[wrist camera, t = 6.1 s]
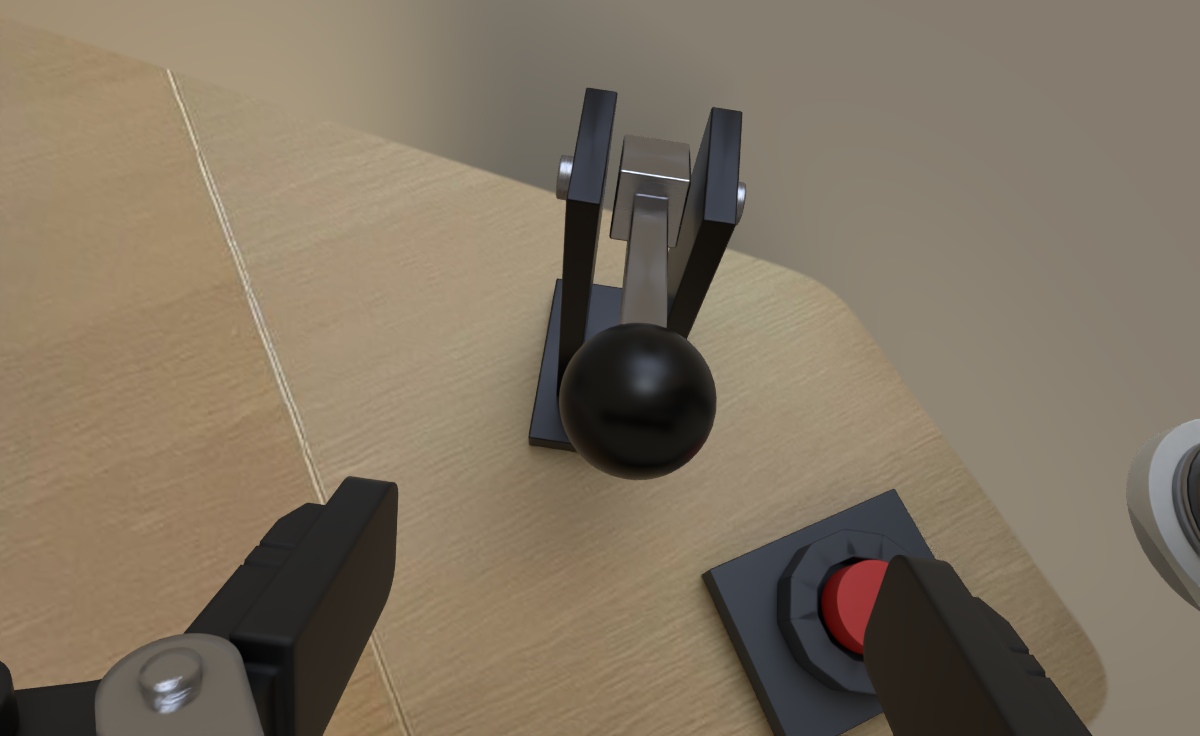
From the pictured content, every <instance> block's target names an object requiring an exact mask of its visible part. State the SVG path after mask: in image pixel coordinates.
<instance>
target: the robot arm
mask: <svg viewBox="0 0 1200 736" xmlns="http://www.w3.org/2000/svg"><path fill="white" fill-rule="evenodd" d="M1172 495H1173V503H1174V508H1175V512H1176V515H1177V518H1178V521H1179V524H1180V526H1181V528H1182V530H1183V532H1184V534H1185V536H1186V538H1187V540H1188V541H1189V543H1190V545H1191V546H1192V548H1193V549H1194V551H1195V552H1196V553H1197V554H1198V556H1199V557H1200V443H1198V444H1196V445H1194V446H1193V447H1191V448H1190V449H1189V450H1188V451H1187V452H1186V453H1185V454H1184V455H1183V456H1182V458H1181V459H1180V461H1179V462H1178V464H1177V467H1176V469H1175V472H1174V476H1173V484H1172ZM397 512H398V487H397V484H396V483H394V482H387V481H380V480H373V479H366V478H359V477H352V476H349V477H347V478H345V480H344V481H343V482H342V483H341V485H340V486H339V487H338V489H337V490H336V491H335V493H334V494H333V495H332V497H331V498H330V499H329V501H328V502H327V504H326V505H321V504H314V503H306V504H304V505H302V506H301V507H299V508H297V509H296V510H294V511H292V512H290V513H289V514H287V515H285V516H284V517H282V518H280V519H278V521H277V522H276V523H275V524H274V525H273V527H272V528H271V529H270V530H269V531H268V533H267V534H266V535H265V536H264V537H263V539H262V540H261V541H260V545H259V546H256V547H255V548H254V549H253V551H252V552H251V553H250V554H249V555H248V557H247V558H246V559H245V562H244V565H240V566H239V567H238V569H237V570H236V571H235V572H234V573H233V575H232V576H231V577H230V578H229V579H228V581H227V582H226V583H225V584H224V585H223V587H222V588H221V589H220V590H219V591H218V593H217V594H216V595H215V596H214V597H213V599H212V600H211V601H210V602H209V603H208V605H207V606H206V607H205V608H204V609H203V611H202V612H201V613H200V614H199V616H198V617H197V618H196V619H195V620H194V622H193V623H192V624H191V625H190V626H189V628H188V629H187V630H186V631H185V632H184V634H181V635H174V636H170V637H166V638H162V639H159V640H156V641H153V642H151V643H149V644H146V645H144V646H142V647H140V648H138V649H136V650H134V651H133V652H131V653H129V654H128V655H126V656H125V657H124V658H122V659H121V660H120V661H118V662H117V663H116V664H115V665H114V666H113V667H112V668H111V669H110V670H109V671H108V672H107V673H106V675H105V676H104V677H103V679H100V680H95V681H88V682H81V683H73V684H64V685H55V686H47V687H38V688H30V689H21V690H14V687H13V682H12V677H11V674H10V671H9V669H8V668H7V666H6V665H5V664H4V663H2V662H1V661H0V736H323V734H324V731H325V729H326V727H327V725H328V723H329V721H330V719H331V717H332V715H333V713H334V711H335V708H336V706H337V704H338V702H339V700H340V698H341V696H342V694H343V692H344V690H345V688H346V686H347V683H348V681H349V679H350V677H351V675H352V673H353V671H354V669H355V667H356V665H357V663H358V660H359V658H360V656H361V654H362V652H363V650H364V648H365V646H366V644H367V642H368V640H369V637H370V635H371V633H372V631H373V629H374V627H375V625H376V623H377V621H378V619H379V617H380V615H381V612H382V610H383V608H384V606H385V604H386V602H387V599H388V596H389V593H390V590H391V586H392V582H393V577H394V571H395V560H396V536H397ZM863 657H864V663H865V668H866V671H867V674H868V676H869V678H870V681H871V683H872V685H873V688H874V690H875V692H876V695H877V697H878V700H879V702H880V704H881V707H882V709H883V711H884V714H885V716H886V718H887V721H888V723H889V726H890V728H891V730H892V733H893V735H894V736H1092V735H1091V733H1090V732H1089V730H1088V729H1087V728H1086V726H1085V725H1084V724H1083V722H1082V721H1081V720H1080V718H1079V717H1078V716H1077V714H1076V713H1075V711H1074V710H1073V709H1072V707H1071V706H1070V705H1069V703H1068V702H1067V701H1066V699H1065V698H1064V697H1063V695H1062V694H1061V692H1060V691H1059V690H1058V688H1057V687H1056V686H1055V684H1054V683H1053V682H1052V680H1051V679H1050V678H1046V676H1045V671H1044V669H1043V668H1042V667H1041V665H1040V664H1039V663H1038V661H1037V660H1036V659H1035V657H1034V656H1033V655H1030V654H1029V649H1028V648H1027V646H1026V645H1025V644H1024V642H1023V641H1022V639H1021V638H1020V637H1019V635H1018V634H1017V633H1016V631H1015V630H1014V629H1013V627H1012V626H1011V625H1010V623H1009V622H1008V621H1007V620H1005V619H1004V618H1003V617H1002V616H1001V615H999V614H998V613H997V612H996V611H994V610H993V609H992V608H991V607H990V606H988V605H987V604H986V603H985V602H984V601H982V600H981V599H980V598H977V597H973V596H972V595H971V593H970V592H969V590H968V589H967V588H966V586H965V585H964V583H963V582H962V580H961V579H960V578H959V576H958V575H957V573H956V572H955V571H954V569H953V568H952V566H951V565H950V564H949V563H947V562H945V561H941V560H934V559H927V558H920V557H913V556H906V555H895V556H894V557H893V558H892V559H891V560H890V562H889V564H888V566H887V569H886V571H885V574H884V577H883V580H882V583H881V586H880V589H879V591H878V594H877V597H876V600H875V603H874V606H873V609H872V612H871V614H870V617H869V620H868V623H867V626H866V629H865V633H864V639H863Z"/></svg>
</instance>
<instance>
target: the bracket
mask: <svg viewBox="0 0 1200 736" xmlns="http://www.w3.org/2000/svg"><path fill="white" fill-rule="evenodd" d="M616 102H617V92H613V91H607V90H600V89H594V88H587V89H586V93H585V98H584V103H583V109H582V114H581V120H580V126H579V131H578V137H577V142H576V148H575V153H574V156H567V155H562V156H561V159H560V163H559V170H558V176H557V185H556V198H557V199H561V200H566V213H565V233H564V253H563V273H562V279H557V280H556V285H555V290H554V296H553V301H552V307H551V313H550V318H549V324H548V330H547V335H546V341H545V346H544V352H543V358H542V363H541V369H540V375H539V380H538V386H537V391H536V397H535V403H534V408H533V414H532V420H531V425H530V431H529V444H530V445H535V446H542V447H548V448H555V449H562V450H569V451H576V449H575V448H574V446H573V445H572V443H571V442H570V440H569V439H568V436H567V434H566V432H565V430H564V427H563V424H562V420H561V415H560V408H559V394H560V387H561V382H562V379H563V375H564V373H565V370H566V368H567V366H568V364H569V362H570V361H571V359H572V357H573V356H574V354H575V353H576V352H577V351H578V350H579V348H580V347H581V346H582V345H583V344H584V343H585V342H586V341H588V340H589V339H590V338H592V337H593V336H595V335H596V334H598V333H600V332H601V331H603V330H606V329H608V328H610V327H613V326H617V325H619V317H620V307H621V297H622V288H617V287H611V286H604V285H597V284H593V279H594V271H595V264H596V256H597V248H598V240H599V233H600V225H601V217H602V210H603V202H604V194H605V186H606V179H607V171H608V163H609V155H610V148H611V140H612V132H613V125H614V117H615V109H616ZM741 128H742V112H741V111H735V110H728V109H722V108H715V107H713V108H712V109H711V112H710V115H709V119H708V122H707V125H706V128H705V132H704V135H703V138H702V142H701V145H700V148H699V152H698V155H697V158H696V162H695V165H694V169H693V172H692V175H691V185H690V190H689V194H688V199H687V203H686V208H685V212H684V216H683V221H682V225H681V230H680V234H679V239H678V243H677V246H676V248H670V249H669V252H668V286H667V328H668V329H670V330H672V331H674V332H676V333H678V334H679V335H681V336H682V337H684V338H685V339H686V340H687V338H688V335H689V333H690V331H691V328H692V326H693V324H694V321H695V319H696V317H697V314H698V312H699V310H700V307H701V305H702V303H703V300H704V298H705V296H706V293H707V291H708V289H709V287H710V284H711V282H712V280H713V277H714V275H715V273H716V270H717V268H718V266H719V263H720V261H721V259H722V256H723V254H724V252H725V249H726V247H727V244H728V242H729V240H730V238H731V235H732V233H733V231H734V228H735V226H736V225H738V223H739V222H740V219H741V216H742V213H743V209H744V204H745V197H746V185H745V183H743V182H739V165H740V148H741V147H740V146H741V130H742V129H741ZM576 452H577V451H576Z"/></svg>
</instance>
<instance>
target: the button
mask: <svg viewBox="0 0 1200 736" xmlns="http://www.w3.org/2000/svg"><path fill="white" fill-rule="evenodd" d="M888 564H889V563H888V562H885V561H880V560H866V561H862V562H859V563H856V564H853V565H850V566H848V567H845V568H842V569H840V570H838V571H837V572H836V573H834V574H833V575H832V576H831V577H830V578H829V580H828V581H827V583H826V585H825V587H824V590H823V593H822V600H821V606H822V614H823V617H824V621H825V623H826V625H827V627H828V629H829V631H830V633H831V634H832V635H833V637H834V638H835V639H836V640H837V641H838V642H839V643H840V644H841V645H843V646H844V647H845V648H847V649H849V650H850V651H852V652H855V653H858V654H862V655H863V639H864V633H865V629H866V626H867V623H868V620H869V617H870V614H871V612H872V609H873V606H874V603H875V600H876V597H877V594H878V591H879V589H880V586H881V583H882V580H883V577H884V574H885V571H886V569H887V566H888Z"/></svg>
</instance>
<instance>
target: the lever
mask: <svg viewBox="0 0 1200 736" xmlns="http://www.w3.org/2000/svg"><path fill="white" fill-rule="evenodd" d="M690 167H691V166H690V146H689V144H685V143H678V142H672V141H666V140H659V139H653V138H646V137H640V136H633V135H625V136H624V140H623V146H622V153H621V160H620V166H619V173H618V180H617V186H616V193H615V200H614V207H613V214H612V221H611V228H610V235H609V236H610V238H611V239H616V240H623V241H627V248H626V258H625V268H624V278H623V287H622V297H621V307H620V317H619V325H617V326H613V327H610V328H608V329H606V330H603V331H601V332H600V333H598V334H596V335H595V336H593V337H592V338H590V339H589V340H588V341H586V342H585V343H584V344H583V345H582V346H581V347H580V348H579V350H578V351H577V352H576V353H575V354H574V356H573V357H572V359H571V361H570V362H569V364H568V366H567V368H566V370H565V373H564V375H563V379H562V382H561V387H560V394H559V408H560V415H561V420H562V424H563V427H564V430H565V432H566V434H567V436H568V439H569V440H570V442H571V443H572V445H573V446H574V448H575V449H576V451H577V452H578V453H579V454H580V455H581V456H582V457H583V458H584V459H585V460H586V461H587V462H589V463H590V464H591V465H593V466H594V467H595V468H597V469H599V470H601V471H602V472H605V473H607V474H609V475H612V476H615V477H619V478H623V479H630V480H647V479H653V478H657V477H661V476H664V475H667V474H669V473H672V472H673V471H675V470H677V469H679V468H680V467H682V466H683V465H685V464H686V463H688V462H689V461H690V460H691V459H692V458H693V457H694V456H695V455H696V454H697V453H698V452H699V450H700V449H701V447H702V446H703V444H704V443H705V442H706V440H707V438H708V436H709V434H710V431H711V429H712V427H713V423H714V418H715V414H716V398H717V397H716V390H715V383H714V380H713V377H712V374H711V371H710V369H709V367H708V365H707V363H706V361H705V360H704V358H703V357H702V355H701V354H700V353H699V351H698V350H697V349H696V348H695V347H694V346H693V345H692V344H691V343H690V342H689V341H688V340H686V339H685V338H684V337H682V336H681V335H679V334H678V333H676V332H674V331H672V330H670V329H668V328H667V286H668V247H669V248H676V246H677V243H678V239H679V234H680V230H681V225H682V221H683V216H684V212H685V208H686V203H687V199H688V194H689V190H690V185H691V168H690Z"/></svg>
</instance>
